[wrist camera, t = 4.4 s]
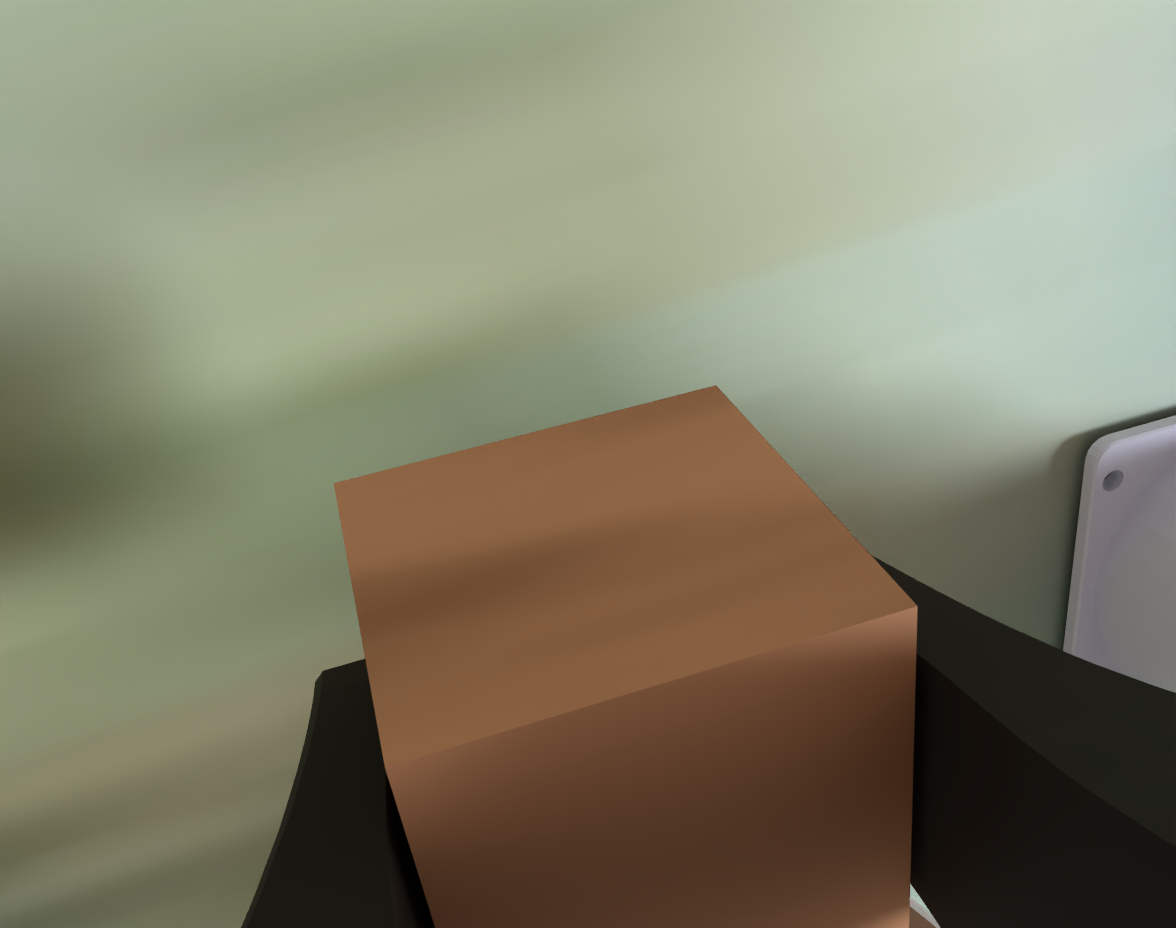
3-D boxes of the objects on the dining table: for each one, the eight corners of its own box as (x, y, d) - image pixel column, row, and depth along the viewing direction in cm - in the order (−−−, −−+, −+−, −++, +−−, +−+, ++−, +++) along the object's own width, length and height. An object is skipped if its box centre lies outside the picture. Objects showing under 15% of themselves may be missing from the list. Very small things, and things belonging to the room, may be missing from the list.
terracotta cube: (739, 675, 15) (908, 945, 12) (419, 773, 15) (488, 1097, 11) (716, 385, 13) (916, 606, 9) (333, 483, 12) (384, 767, 9)
